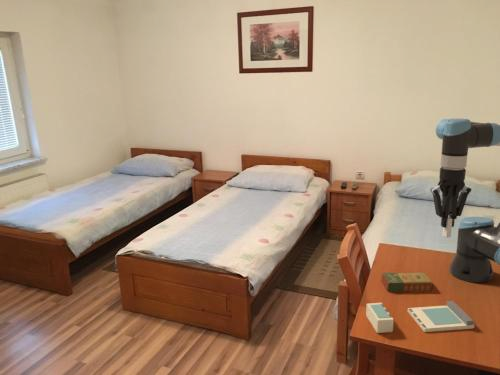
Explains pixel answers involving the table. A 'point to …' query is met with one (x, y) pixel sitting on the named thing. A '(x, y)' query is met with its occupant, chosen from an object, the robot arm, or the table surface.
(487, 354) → the table surface
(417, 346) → the table surface
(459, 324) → the cream teal-inset panel
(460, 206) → the robot arm
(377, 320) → the stub
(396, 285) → the carton
